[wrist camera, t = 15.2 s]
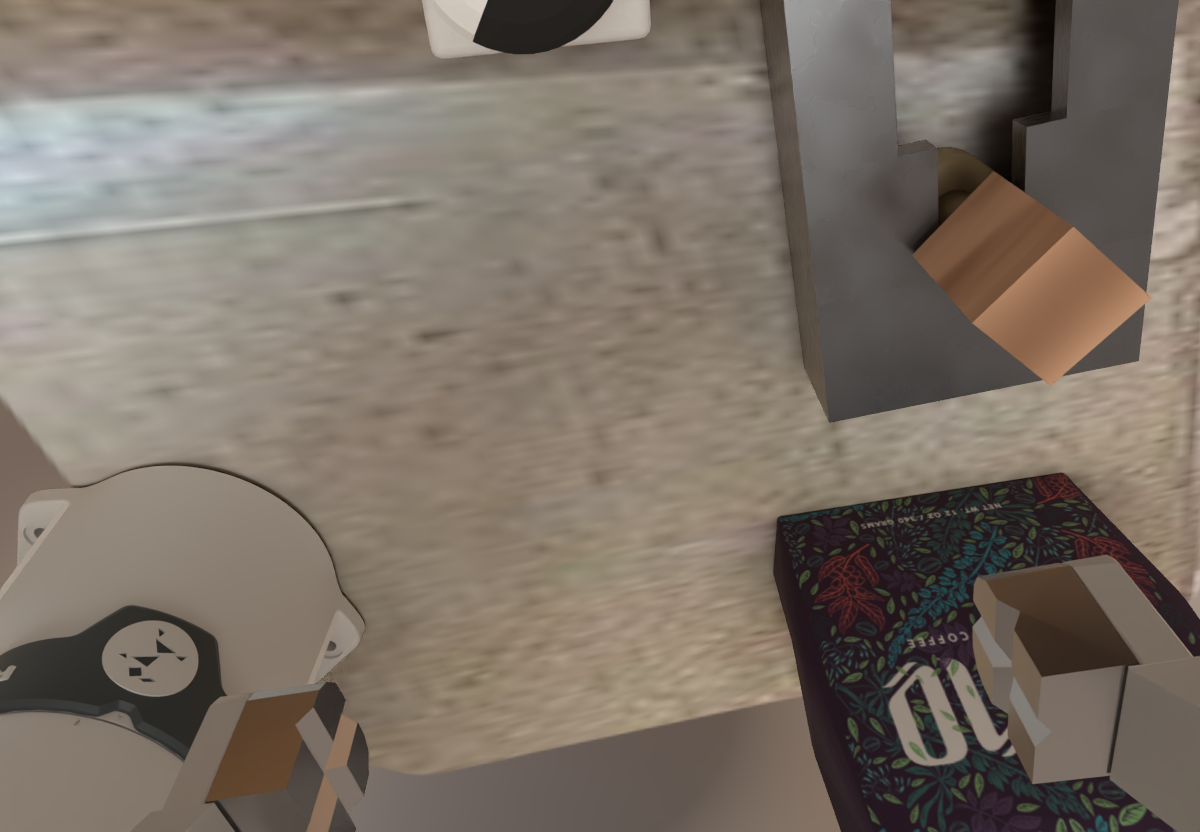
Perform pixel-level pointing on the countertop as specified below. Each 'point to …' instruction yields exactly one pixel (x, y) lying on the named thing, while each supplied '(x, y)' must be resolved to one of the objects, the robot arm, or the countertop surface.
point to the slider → (1022, 269)
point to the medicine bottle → (530, 24)
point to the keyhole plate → (910, 192)
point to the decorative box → (940, 655)
